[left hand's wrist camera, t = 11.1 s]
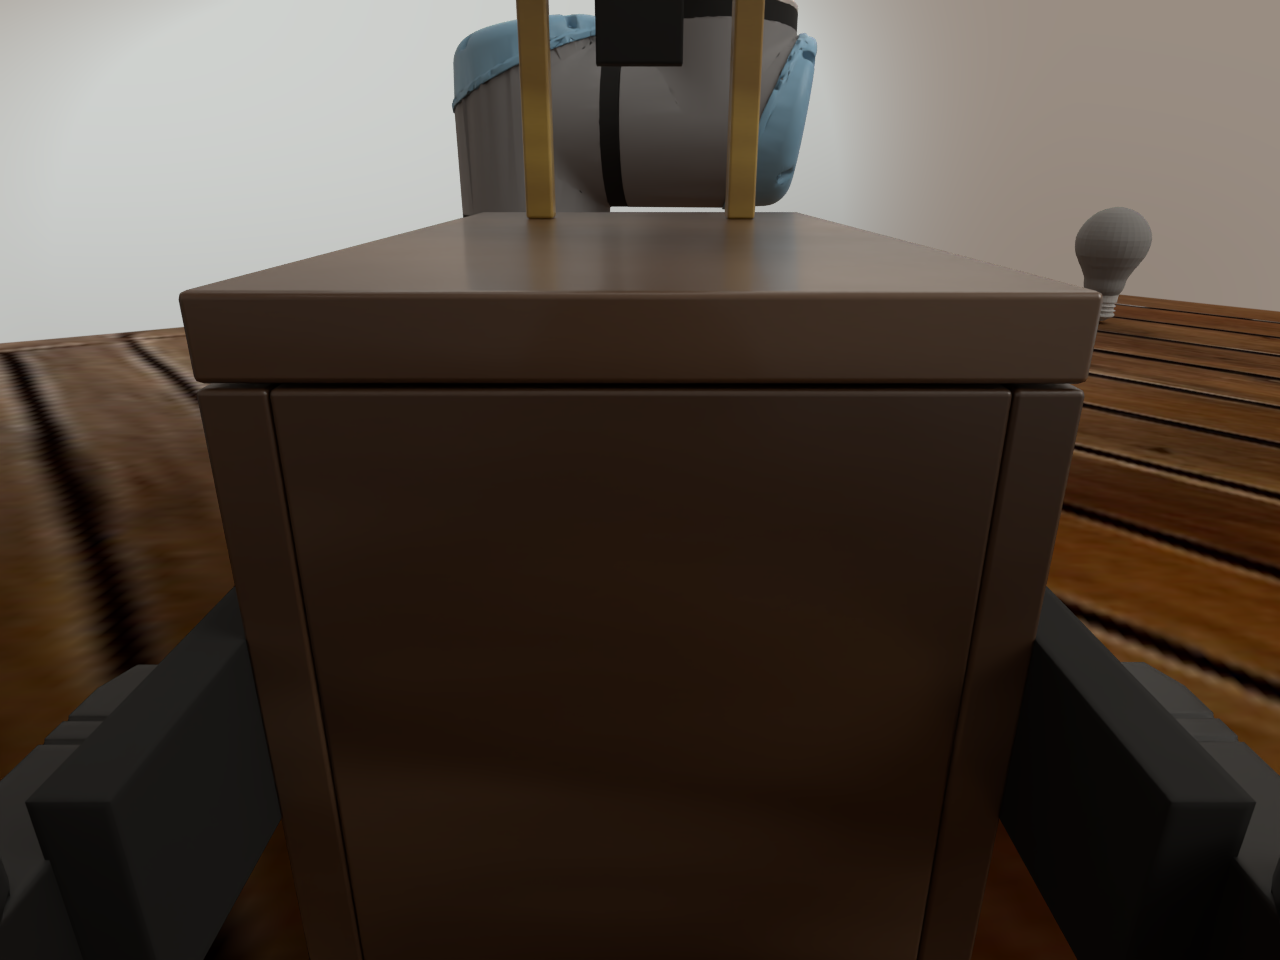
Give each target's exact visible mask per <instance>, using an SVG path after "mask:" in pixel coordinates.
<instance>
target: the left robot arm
mask: <svg viewBox="0 0 1280 960" xmlns="http://www.w3.org/2000/svg"><path fill="white" fill-rule="evenodd" d="M1237 737H1238V736H1237V735H1236V734H1235V733H1234V732H1233V731H1232V730H1231V729H1229V728H1228V727H1227V726H1226V725H1225V724H1224V723H1223V722H1222V721H1221V720H1220V719H1214V717H1213V712H1212V711H1211V710H1209V709H1208V708H1207V707H1206V706H1205V705H1204V704H1203V703H1202V702H1201V701H1200V700H1199V699H1198V698H1197V697H1196V696H1195V695H1194V694H1193V693H1192V692H1191V691H1190V690H1188V689H1187V688H1186V687H1185V686H1184V685H1182V684H1181V683H1179V682H1177V681H1176V680H1174V679H1172V678H1170V677H1169V676H1167V675H1165V674H1163V673H1162V672H1160V671H1158V670H1157V669H1155V668H1153V667H1151V666H1150V665H1148V664H1146V663H1144V662H1120V661H1119V660H1118V659H1117V658H1116V657H1115V656H1114V655H1113V654H1112V653H1111V652H1110V651H1109V650H1108V649H1107V648H1106V647H1105V646H1104V645H1103V644H1102V643H1101V642H1100V641H1099V640H1098V639H1097V638H1096V637H1095V636H1094V635H1093V634H1092V633H1091V631H1090V630H1089V629H1088V628H1087V627H1086V626H1085V625H1084V624H1083V623H1082V622H1081V621H1080V620H1079V619H1078V618H1077V617H1076V616H1075V615H1074V614H1073V613H1072V612H1071V611H1070V610H1069V609H1068V608H1067V607H1066V606H1065V605H1064V604H1063V603H1062V602H1061V601H1060V600H1059V599H1058V598H1057V597H1056V596H1055V594H1054V593H1053V592H1052V591H1051V590H1050V589H1049V588H1048V587H1047V586H1046V589H1045V594H1044V599H1043V604H1042V609H1041V614H1040V619H1039V623H1038V628H1037V633H1036V638H1035V641H1034V646H1033V651H1032V656H1031V661H1030V666H1029V671H1028V676H1027V681H1026V686H1025V691H1024V696H1023V701H1022V706H1021V711H1020V716H1019V721H1018V726H1017V731H1016V736H1015V741H1014V746H1013V751H1012V756H1011V761H1010V766H1009V771H1008V776H1007V781H1006V786H1005V790H1004V795H1003V800H1002V805H1001V810H1000V815H999V818H1000V820H1001V822H1002V824H1003V825H1004V827H1005V829H1006V831H1007V833H1008V834H1009V836H1010V838H1011V840H1012V842H1013V844H1014V845H1015V847H1016V849H1017V851H1018V853H1019V854H1020V856H1021V858H1022V860H1023V862H1024V863H1025V865H1026V867H1027V869H1028V871H1029V873H1030V874H1031V876H1032V878H1033V880H1034V882H1035V883H1036V885H1037V887H1038V889H1039V891H1040V892H1041V894H1042V896H1043V898H1044V900H1045V901H1046V903H1047V905H1048V907H1049V909H1050V911H1051V912H1052V914H1053V916H1054V918H1055V920H1056V921H1057V923H1058V925H1059V927H1060V929H1061V930H1062V932H1063V934H1064V936H1065V938H1066V940H1067V941H1068V943H1069V945H1070V947H1071V949H1072V950H1073V952H1074V954H1075V956H1076V958H1077V959H1078V960H1280V776H1279V775H1278V774H1277V773H1276V772H1275V771H1274V770H1273V769H1272V768H1271V767H1269V766H1268V765H1267V764H1266V763H1265V762H1264V761H1263V760H1262V759H1261V758H1260V757H1259V756H1258V755H1257V754H1256V753H1255V752H1254V751H1253V750H1252V749H1251V748H1249V747H1248V746H1247V745H1246V744H1245V743H1244V742H1239V741H1238V739H1237ZM281 818H282V817H281V812H280V807H279V802H278V797H277V792H276V787H275V782H274V777H273V772H272V767H271V762H270V757H269V752H268V747H267V742H266V737H265V732H264V727H263V722H262V717H261V712H260V707H259V702H258V697H257V692H256V687H255V682H254V677H253V672H252V667H251V662H250V657H249V652H248V647H247V642H246V638H245V633H244V628H243V623H242V618H241V613H240V608H239V603H238V598H237V593H236V588H235V586H234V587H233V588H232V589H231V590H230V591H229V592H228V593H227V594H226V595H225V596H224V598H223V599H222V600H221V601H220V602H219V603H218V604H217V605H216V606H215V607H214V608H213V609H212V610H211V611H210V612H209V613H208V614H207V615H206V616H205V617H204V618H203V619H202V620H201V621H200V622H199V623H198V624H197V625H196V626H195V627H194V628H193V629H192V630H191V631H190V633H189V634H188V635H187V636H186V637H185V638H184V639H183V640H182V641H181V642H180V643H179V644H178V645H177V646H176V647H175V648H174V649H173V650H172V651H171V652H170V653H169V654H168V655H167V656H166V657H165V658H164V659H163V660H162V661H161V662H160V663H159V664H158V665H137V666H135V667H133V668H131V669H130V670H128V671H126V672H125V673H123V674H121V675H119V676H118V677H116V678H114V679H113V680H111V681H109V682H107V683H106V684H104V685H102V686H101V687H99V688H97V689H96V690H95V691H94V692H93V693H92V694H91V695H90V696H89V697H88V698H87V699H86V700H85V701H84V702H83V703H82V704H81V705H80V706H78V707H77V708H76V709H75V710H74V711H73V712H72V713H71V714H70V715H69V719H68V721H63V722H62V723H61V724H60V725H59V726H58V727H57V728H55V729H54V730H53V731H52V732H51V733H50V734H49V735H48V736H47V737H46V738H45V742H44V744H43V745H38V746H37V747H36V748H35V749H34V750H32V751H31V752H30V753H29V754H28V755H27V756H26V757H25V758H24V759H23V760H22V761H21V762H20V763H19V764H18V765H17V766H16V767H15V768H14V769H13V770H12V771H11V772H10V773H8V774H7V775H6V776H5V777H4V778H3V779H2V780H1V781H0V960H203V959H204V957H205V956H206V954H207V952H208V950H209V948H210V947H211V945H212V943H213V941H214V939H215V938H216V936H217V934H218V932H219V930H220V928H221V927H222V925H223V923H224V921H225V919H226V918H227V916H228V914H229V912H230V910H231V909H232V907H233V905H234V903H235V901H236V900H237V898H238V896H239V894H240V892H241V890H242V889H243V887H244V885H245V883H246V881H247V880H248V878H249V876H250V874H251V872H252V871H253V869H254V867H255V865H256V863H257V861H258V860H259V858H260V856H261V854H262V852H263V851H264V849H265V847H266V845H267V843H268V842H269V840H270V838H271V836H272V834H273V832H274V831H275V829H276V827H277V825H278V823H279V822H280V820H281Z"/></svg>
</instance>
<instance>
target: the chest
mask: <svg viewBox="0 0 1280 960" xmlns="http://www.w3.org/2000/svg"><path fill="white" fill-rule="evenodd" d="M197 398H198V403H199V408H200V413H201V418H202V423H203V428H204V433H205V438H206V443H207V448H208V453H209V458H210V463H211V468H212V473H213V478H214V483H215V488H216V493H217V498H218V503H219V508H220V513H221V518H222V523H223V528H224V533H225V538H226V543H227V548H228V553H229V558H230V563H231V568H232V573H233V578H234V583H235V588H236V593H237V598H238V603H239V608H240V613H241V618H242V623H243V628H244V633H245V638H246V642H247V647H248V652H249V657H250V662H251V667H252V672H253V677H254V682H255V687H256V692H257V697H258V702H259V707H260V712H261V717H262V722H263V727H264V732H265V737H266V742H267V747H268V752H269V757H270V762H271V767H272V772H273V777H274V782H275V787H276V792H277V797H278V802H279V807H280V812H281V817H282V823H283V828H284V833H285V838H286V843H287V848H288V853H289V858H290V863H291V868H292V873H293V878H294V883H295V888H296V893H297V898H298V903H299V908H300V913H301V918H302V923H303V928H304V933H305V938H306V943H307V948H308V953H309V958H310V960H971V955H972V950H973V946H974V941H975V936H976V931H977V926H978V921H979V916H980V911H981V906H982V901H983V896H984V891H985V886H986V881H987V876H988V871H989V866H990V861H991V856H992V851H993V846H994V841H995V837H996V832H997V827H998V822H999V815H1000V810H1001V805H1002V800H1003V795H1004V790H1005V786H1006V781H1007V776H1008V771H1009V766H1010V761H1011V756H1012V751H1013V746H1014V741H1015V736H1016V731H1017V726H1018V721H1019V716H1020V711H1021V706H1022V701H1023V696H1024V691H1025V686H1026V681H1027V676H1028V671H1029V666H1030V661H1031V656H1032V651H1033V646H1034V641H1035V638H1036V633H1037V628H1038V623H1039V619H1040V614H1041V609H1042V604H1043V599H1044V594H1045V589H1046V584H1047V579H1048V574H1049V569H1050V564H1051V559H1052V554H1053V549H1054V544H1055V539H1056V534H1057V529H1058V524H1059V519H1060V514H1061V510H1062V505H1063V500H1064V495H1065V490H1066V485H1067V480H1068V475H1069V470H1070V465H1071V460H1072V455H1073V450H1074V445H1075V440H1076V435H1077V430H1078V425H1079V420H1080V415H1081V410H1082V405H1083V401H1084V392H1083V391H1082V390H1080V389H1078V388H1076V387H1074V386H1072V385H1070V384H606V383H212V384H210V385H208V386H206V387H204V388H202V389H200V390H198V393H197Z"/></svg>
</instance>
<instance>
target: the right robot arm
mask: <svg viewBox="0 0 1280 960" xmlns="http://www.w3.org/2000/svg"><path fill="white" fill-rule="evenodd" d="M732 1H733V0H595V16H592V15H584V14H576V15H568V16H562V15H549V33H550V62H551V91H552V120H553V149H554V178H555V207H556V212H610V207H612V206H628V207H721V208H722V209H725V195H726V167H727V140H728V112H729V84H730V56H731V29H732ZM797 18H798V6H797V4H796V3H795V1H794V0H765V9H764V30H763V51H762V71H761V92H760V113H759V133H758V154H757V175H756V195H755V206H766V205H771V204H774V203H776V202H777V201H779V200H780V199H781V198H782V197H783V196H784V195H785V194H786V192H787V191H788V189H789V187H790V184H791V181H792V178H793V174H794V170H795V166H796V162H797V158H798V154H799V149H800V145H801V140H802V135H803V130H804V125H805V120H806V115H807V110H808V104H809V99H810V93H811V87H812V81H813V74H814V65H815V56H816V53H817V42H816V40H815V39H814V38H813V37H810V36H808V35H807V34H806V33H803V34H800V35H799V36H797ZM454 95H455V98H454V100H453V103H452V108H453V112H454V113H455V121H456V133H457V146H458V158H459V171H460V183H461V196H462V208H463V218H464V217H468V216H472V215H475V214H479V213H483V212H526V200H525V179H524V157H523V136H522V115H521V93H520V72H519V51H518V30H517V20H513V21H508V22H503V23H499V24H495V25H492V26H489V27H486V28H483V29H480V30H478V31H476V32H474V33H472V34H470V35H469V36H468V37H466V38H465V39H464V40H463V41H462V42H461V43H460V44H459V46H458V47H457V50H456V52H455V55H454Z"/></svg>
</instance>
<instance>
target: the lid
mask: <svg viewBox="0 0 1280 960" xmlns="http://www.w3.org/2000/svg"><path fill="white" fill-rule="evenodd" d="M516 8H517V30H518V51H519V72H520V93H521V115H522V136H523V157H524V179H525V200H526V212H483V213H479V214H475V215H472V216H468V217H464V218H460V219H456V220H453V221H449V222H445V223H441V224H437V225H434V226H430V227H426V228H422V229H418V230H414V231H411V232H407V233H403V234H399V235H395V236H391V237H388V238H384V239H380V240H376V241H372V242H368V243H365V244H361V245H357V246H353V247H349V248H346V249H342V250H338V251H334V252H330V253H327V254H323V255H319V256H315V257H311V258H307V259H304V260H300V261H296V262H292V263H288V264H285V265H281V266H277V267H273V268H269V269H265V270H262V271H258V272H254V273H250V274H246V275H243V276H239V277H235V278H231V279H227V280H224V281H220V282H216V283H212V284H208V285H204V286H201V287H197V288H193V289H189V290H186V291H184V292H181V293H180V295H179V303H180V309H181V314H182V318H183V323H184V329H185V334H186V339H187V344H188V349H189V354H190V359H191V364H192V369H193V374H194V377H195V379H196V381H198V382H202V383H606V384H1078V383H1082V382H1085V381H1086V379H1087V377H1088V373H1089V368H1090V363H1091V358H1092V353H1093V348H1094V343H1095V338H1096V333H1097V328H1098V323H1099V318H1100V313H1101V309H1102V304H1103V296H1102V294H1101V293H1099V292H1097V291H1094V290H1091V289H1087V288H1083V287H1079V286H1075V285H1072V284H1068V283H1064V282H1060V281H1056V280H1052V279H1049V278H1045V277H1041V276H1037V275H1033V274H1030V273H1026V272H1022V271H1018V270H1014V269H1010V268H1007V267H1003V266H999V265H995V264H991V263H988V262H983V261H980V260H976V259H972V258H968V257H965V256H961V255H957V254H953V253H949V252H946V251H942V250H938V249H934V248H930V247H926V246H923V245H919V244H915V243H911V242H907V241H903V240H900V239H896V238H892V237H888V236H884V235H881V234H877V233H873V232H869V231H865V230H862V229H858V228H854V227H850V226H846V225H843V224H839V223H835V222H831V221H827V220H823V219H820V218H816V217H812V216H808V215H804V214H801V213H797V212H755V195H756V175H757V154H758V133H759V113H760V92H761V71H762V51H763V30H764V9H765V0H733V1H732V29H731V56H730V84H729V112H728V140H727V167H726V195H725V212H556V207H555V178H554V149H553V120H552V91H551V62H550V33H549V5H548V0H516Z"/></svg>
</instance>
